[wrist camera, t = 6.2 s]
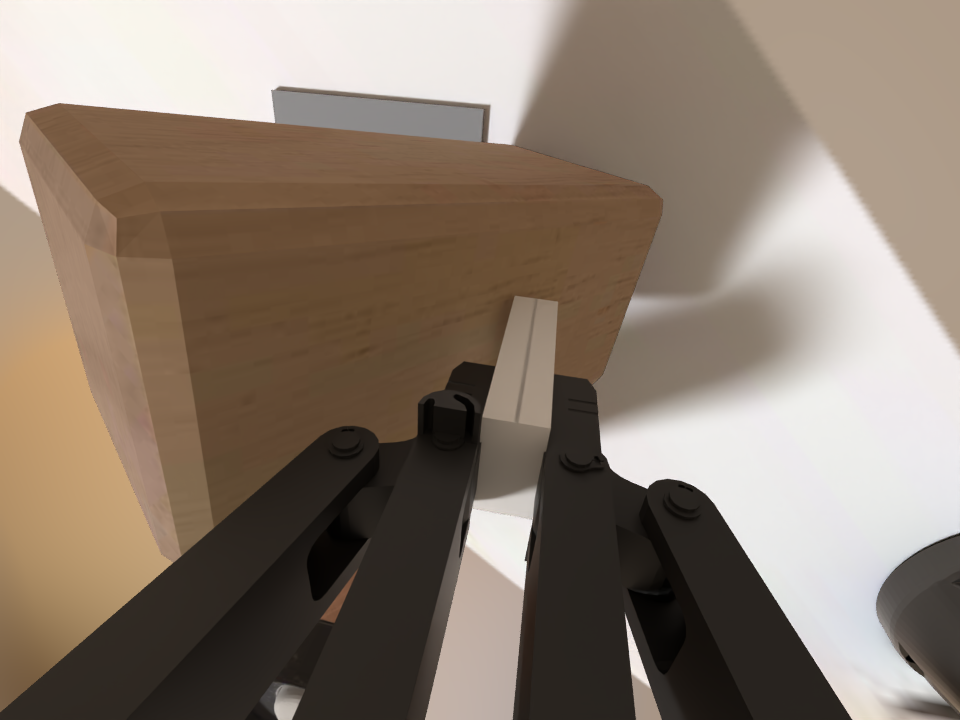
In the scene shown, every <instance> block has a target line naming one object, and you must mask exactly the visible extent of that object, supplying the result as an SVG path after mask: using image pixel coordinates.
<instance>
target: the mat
mask: <svg viewBox="0 0 960 720" xmlns="http://www.w3.org/2000/svg"><path fill="white" fill-rule="evenodd" d="M271 91H272V99H273V107H274V115H275V123H278V124H289V125H300V126H311V127H322V128H333V129H344V130H354V131H365V132H376V133H387V134H398V135H409V136H419V137H430V138H441V139H452V140H463V141H474V142H482V135H483V121H484V109H479V108H468V107H457V106H446V105H435V104H424V103H413V102H401V101H390V100H379V99H368V98H357V97H346V96H335V95H324V94H313V93H302V92H291V91H280V90H271Z"/></svg>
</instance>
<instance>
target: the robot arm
mask: <svg viewBox="0 0 960 720" xmlns="http://www.w3.org/2000/svg"><path fill="white" fill-rule="evenodd" d="M557 311H558V302H557V301H550V300H542V299H535V298H528V297H521V296H515V297H514V300H513V304H512V308H511V312H510V315H509V319H508V323H507V327H506V330H505V334H504V338H503V341H502V345H501V349H500V353H499V356H498V360H497V364H496V366H491V365H485V364H478V363H472V362H465V361H464V362H462V363H461V364H460V365H458V366H457V367H456V368H454V369H453V370H452V373H451V375H450V377H449V380H448V383H447V385H446V387H445V389H444V390H441V391H436V392H432V393H430V394H428V395H426V396H424V397H423V398H422V399H421V400H420V401H419V402H418V432H417V436H416V437H415V438H413V439H409V440H406V441H400V442H389V443H379V440H378V438H377V437H376V435H375V434H374V433H373V432H372V431H370V430H368V429H366V428H363V427H359V426H341V427H338V428H334V429H331V430H329V431H327V432H326V433H324V434H323V435H321V436H320V437H318V438H317V439H316V440H315V441H314V442H313V443H312V444H310V445H309V446H308V447H307V448H306V449H305V450H303V451H302V452H301V453H300V454H299V455H298V456H296V457H295V458H294V459H293V460H292V461H291V462H290V463H288V464H287V465H286V466H285V467H284V468H283V469H281V470H280V471H279V472H278V473H277V474H276V475H274V476H273V477H272V478H271V479H270V480H269V481H268V482H266V483H265V484H264V485H263V486H262V487H261V488H259V489H258V490H257V491H256V492H255V493H254V494H253V495H251V496H250V497H249V498H248V499H247V500H246V501H244V502H243V503H242V504H241V505H240V506H239V507H237V508H236V509H235V510H234V511H233V512H232V513H231V514H229V515H228V516H227V517H226V518H225V519H224V520H222V521H221V522H220V523H219V524H218V525H217V526H215V527H214V528H213V529H212V530H211V531H210V532H209V533H207V534H206V535H205V536H204V537H203V538H202V539H200V540H199V541H198V542H197V543H196V544H195V545H193V546H192V547H191V548H190V549H189V550H188V551H187V552H185V553H184V554H183V555H182V556H181V557H180V558H178V559H177V560H176V561H175V562H174V563H173V564H172V565H171V566H169V567H168V568H167V569H166V570H165V571H163V572H162V573H161V574H160V575H159V576H158V577H156V578H155V579H154V580H153V581H152V582H151V583H150V584H148V585H147V586H146V587H145V588H144V589H143V590H141V592H139V593H138V594H137V595H136V596H134V597H133V598H132V599H131V600H130V601H129V602H128V603H126V604H125V605H124V606H123V607H122V608H121V609H120V610H118V611H117V612H116V613H115V614H114V615H112V616H111V617H110V618H109V619H108V620H107V621H106V622H104V623H103V624H102V625H101V626H100V627H99V628H97V629H96V630H95V631H94V632H93V633H92V634H91V635H90V636H88V637H87V638H86V639H85V640H84V641H83V642H81V643H80V644H79V645H78V646H77V647H75V648H74V649H73V650H72V651H71V652H70V653H69V654H67V655H66V656H65V657H64V658H63V659H62V660H61V661H59V662H58V663H57V664H56V665H55V666H53V667H52V668H51V669H50V670H49V671H48V672H47V673H46V674H44V675H43V676H42V677H41V678H40V679H38V680H37V681H36V682H35V683H34V684H33V685H31V686H30V687H29V688H28V689H27V690H26V691H25V692H23V693H22V694H21V695H20V696H19V697H18V698H17V699H15V700H14V701H13V702H12V703H11V704H10V705H8V706H7V707H6V708H5V709H4V710H3V711H2V712H0V720H245V719H246V717H247V716H248V715H249V713H250V712H251V711H252V709H253V708H254V707H255V705H256V704H257V703H258V701H259V700H260V699H261V697H262V696H263V695H264V693H265V692H266V691H267V689H268V688H269V687H270V685H271V684H272V683H273V681H274V680H275V679H276V677H277V676H278V675H279V673H280V672H281V671H282V669H283V668H284V667H285V665H286V664H287V663H288V661H289V660H290V659H291V657H292V656H293V655H294V653H295V652H296V651H297V649H298V648H299V647H300V645H301V644H302V643H303V641H304V640H305V639H306V637H307V636H308V635H309V633H310V632H311V631H312V629H313V628H314V627H315V625H316V624H317V623H318V621H319V620H320V619H321V617H322V616H323V615H324V613H325V612H326V611H327V609H328V608H329V607H330V605H331V604H332V603H333V601H334V600H335V599H336V597H337V596H338V595H339V593H340V592H341V591H342V589H343V588H344V587H345V585H346V584H347V583H348V581H349V580H350V579H351V577H352V576H353V575H354V573H355V572H356V571H357V573H356V575H355V577H354V580H353V582H352V584H351V586H350V589H349V591H348V593H347V595H346V598H345V600H344V602H343V605H342V607H341V609H340V611H339V614H338V616H337V618H336V620H335V623H334V625H333V627H332V630H331V632H330V634H329V636H328V639H327V641H326V643H325V645H324V648H323V650H322V652H321V655H320V657H319V659H318V661H317V664H316V666H315V668H314V671H313V673H312V675H311V677H310V680H309V682H308V684H307V686H306V689H305V691H304V693H303V696H302V698H301V700H300V702H299V705H298V707H297V709H296V711H295V714H294V716H293V718H292V720H425V717H426V713H427V708H428V704H429V699H430V695H431V691H432V687H433V682H434V678H435V674H436V669H437V665H438V661H439V656H440V652H441V648H442V643H443V638H444V634H445V630H446V626H447V621H448V617H449V612H450V608H451V604H452V600H453V595H454V591H455V587H456V582H457V578H458V574H459V569H460V565H461V560H462V556H463V552H464V548H465V543H466V539H467V535H468V530H469V524H470V514H471V511H472V507H473V509H477V510H483V511H488V512H493V513H499V514H505V515H510V516H515V517H521V518H526V519H531V520H532V518H533V522H532V527H531V532H530V537H529V542H528V547H527V552H526V557H525V561H527V568H526V579H525V590H524V601H523V613H522V624H521V634H520V645H519V656H518V668H517V679H516V690H515V701H514V713H513V720H636V717H635V707H634V697H633V688H632V678H631V668H630V658H629V649H628V639H627V630H626V620H625V614H626V617H627V620H628V623H629V626H630V628H631V631H632V634H633V637H634V640H635V643H636V646H637V649H638V652H639V655H640V657H641V660H642V663H643V666H644V669H645V672H646V675H647V678H648V681H649V683H650V686H651V689H652V692H653V695H654V698H655V701H656V703H657V706H658V709H659V712H660V715H661V718H662V720H852V719H851V717H850V716H849V714H848V713H847V711H846V709H845V708H844V706H843V705H842V703H841V702H840V700H839V698H838V697H837V695H836V694H835V692H834V691H833V689H832V688H831V686H830V684H829V683H828V681H827V680H826V678H825V677H824V675H823V673H822V672H821V670H820V669H819V667H818V666H817V664H816V662H815V661H814V659H813V658H812V656H811V655H810V653H809V652H808V650H807V648H806V647H805V645H804V644H803V642H802V641H801V639H800V637H799V636H798V634H797V633H796V631H795V630H794V628H793V626H792V625H791V623H790V622H789V620H788V619H787V617H786V616H785V614H784V612H783V611H782V609H781V608H780V606H779V605H778V603H777V601H776V600H775V598H774V597H773V595H772V594H771V592H770V591H769V589H768V587H767V586H766V584H765V583H764V581H763V580H762V578H761V576H760V575H759V573H758V572H757V570H756V569H755V567H754V565H753V564H752V562H751V561H750V559H749V558H748V556H747V555H746V553H745V551H744V550H743V548H742V547H741V545H740V544H739V542H738V540H737V539H736V537H735V536H734V534H733V533H732V531H731V530H730V528H729V526H728V525H727V523H726V522H725V520H724V519H723V517H722V515H721V514H720V512H719V511H718V509H717V508H716V506H715V504H714V503H713V502H712V501H711V500H710V499H709V498H708V496H707V495H706V494H704V493H703V492H702V491H700V490H699V489H697V488H696V487H694V486H692V485H690V484H687V483H685V482H682V481H678V480H671V479H664V480H658V481H656V482H654V483H653V484H651V485H650V486H649V488H648V489H646V488H644V487H642V486H639V485H637V484H634V483H632V482H630V481H628V480H626V479H624V478H622V477H620V476H619V475H618V474H616V473H615V472H613V471H612V470H611V469H610V467H609V464H608V461H607V459H606V457H605V456H604V455H603V454H602V453H601V443H600V431H599V419H598V407H597V395H596V390H595V389H594V387H593V386H592V385H591V383H590V382H589V380H588V379H583V378H577V377H570V376H564V375H557V374H554V363H555V346H556V328H557ZM357 569H358V570H357ZM876 610H877V616H878V619H879V621H880V623H881V625H882V627H883V628H884V630H885V632H886V633H887V635H888V637H889V639H890V640H891V642H892V644H893V645H894V647H895V649H896V650H897V652H898V653H899V654H900V656H901V657H902V658H903V659H904V660H905V661H906V663H907V664H909V665H910V666H911V667H912V668H913V669H914V670H915V671H916V672H918V673H919V674H920V675H922V676H923V677H924V678H925V679H926V680H927V681H928V682H929V683H930V685H931V686H932V687H933V688H934V689H935V690H936V691H937V692H938V694H939V695H940V696H941V697H942V698H943V699H944V700H945V701H946V702H947V703H948V704H949V705H950V706H951V707H952V708H953V709H954V710H955V711H956V712H957V713H958V714H959V715H960V536H957V537H954V538H951V539H948V540H945V541H943V542H940V543H938V544H935V545H933V546H931V547H929V548H927V549H925V550H923V551H921V552H919V553H917V554H916V555H914V556H913V557H911V558H909V559H908V560H907V561H905V562H904V563H903V564H901V565H900V566H899V567H898V568H897V569H895V570H894V571H893V572H892V573H891V575H890V576H889V577H888V578H887V579H886V581H885V582H884V584H883V585H882V587H881V589H880V591H879V594H878V597H877V602H876Z"/></svg>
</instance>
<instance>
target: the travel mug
mask: <svg viewBox="0 0 960 720" xmlns="http://www.w3.org/2000/svg"><path fill="white" fill-rule="evenodd" d="M357 570H358V569H357ZM356 573H357V571H356V572H355V573H354V575H353V576H352V577H351V579H350V580H349V581H348V583H347V584H346V585H345V587H344V588H343V589H342V591H341V592H340V593H339V595H338V596H337V597H336V599H335V600H334V601H333V603H332V604H331V605H330V607H329V608H328V609H327V611H326V612H325V613H324V615H323V616H322V617H321V619H320V620H319V621H318V623H317V624H316V625H315V627H314V628H313V629H312V631H311V632H310V633H309V635H308V636H307V637H306V639H305V640H304V641H303V643H302V644H301V645H300V647H299V648H298V649H297V651H296V652H295V653H294V655H293V656H292V657H291V659H290V660H289V661H288V663H287V664H286V665H285V667H284V668H283V669H282V671H281V672H280V673H279V675H278V676H277V677H276V679H275V680H274V681H273V683H272V684H271V685H270V687H269V688H268V689H267V691H266V692H265V693H264V695H263V696H262V697H261V699H260V700H259V701H258V703H257V704H256V705H255V707H254V708H253V709H252V711H251V712H250V713H249V715H248V716H247V717H246V719H245V720H292V718H293V716H294V714H295V711H296V709H297V707H298V705H299V702H300V700H301V698H302V696H303V693H304V691H305V689H306V686H307V684H308V682H309V680H310V677H311V675H312V673H313V671H314V668H315V666H316V664H317V661H318V659H319V657H320V655H321V652H322V650H323V648H324V645H325V643H326V641H327V639H328V636H329V634H330V632H331V630H332V627H333V625H334V623H335V620H336V618H337V616H338V614H339V611H340V609H341V607H342V605H343V602H344V600H345V598H346V595H347V593H348V591H349V589H350V586H351V584H352V582H353V580H354V577H355V575H356Z"/></svg>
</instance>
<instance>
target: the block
mask: <svg viewBox="0 0 960 720" xmlns="http://www.w3.org/2000/svg"><path fill="white" fill-rule="evenodd" d="M19 143H20V146H21V150H22V153H23V157H24V160H25V164H26V167H27V171H28V174H29V178H30V181H31V185H32V188H33V192H34V195H35V199H36V202H37V206H38V209H39V212H40V216H41V219H42V223H43V226H44V230H45V233H46V237H47V240H48V244H49V247H50V251H51V254H52V258H53V261H54V265H55V268H56V272H57V275H58V278H59V282H60V285H61V289H62V292H63V296H64V299H65V302H66V306H67V310H68V313H69V316H70V320H71V323H72V327H73V330H74V334H75V337H76V341H77V344H78V348H79V351H80V355H81V358H82V361H83V365H84V369H85V372H86V376H87V379H88V382H89V386H90V390H91V393H92V395H93V397H94V399H95V402H96V404H97V407H98V409H99V411H100V413H101V416H102V418H103V420H104V423H105V425H106V427H107V430H108V432H109V434H110V436H111V439H112V441H113V444H114V446H115V448H116V450H117V452H118V455H119V457H120V460H121V462H122V464H123V467H124V469H125V471H126V473H127V476H128V478H129V480H130V483H131V485H132V487H133V490H134V492H135V494H136V497H137V499H138V501H139V504H140V506H141V508H142V511H143V513H144V515H145V518H146V520H147V522H148V524H149V527H150V529H151V531H152V534H153V536H154V538H155V540H156V543H157V545H158V547H159V550H160V552H161V554H162V555H163V556H165V557H166V558H168V559H169V560H171V561H172V562H175V561H176V560H177V559H178V558H180V557H181V556H182V555H183V554H184V553H185V552H187V551H188V550H189V549H190V548H191V547H192V546H193V545H195V544H196V543H197V542H198V541H199V540H200V539H202V538H203V537H204V536H205V535H206V534H207V533H209V532H210V531H211V530H212V529H213V528H214V527H215V526H217V525H218V524H219V523H220V522H221V521H222V520H224V519H225V518H226V517H227V516H228V515H229V514H231V513H232V512H233V511H234V510H235V509H236V508H237V507H239V506H240V505H241V504H242V503H243V502H244V501H246V500H247V499H248V498H249V497H250V496H251V495H253V494H254V493H255V492H256V491H257V490H258V489H259V488H261V487H262V486H263V485H264V484H265V483H266V482H268V481H269V480H270V479H271V478H272V477H273V476H274V475H276V474H277V473H278V472H279V471H280V470H281V469H283V468H284V467H285V466H286V465H287V464H288V463H290V462H291V461H292V460H293V459H294V458H295V457H296V456H298V455H299V454H300V453H301V452H302V451H303V450H305V449H306V448H307V447H308V446H309V445H310V444H312V443H313V442H314V441H315V440H316V439H317V438H318V437H320V436H321V435H323V434H324V433H326V432H327V431H329V430H331V429H334V428H338V427H341V426H359V427H363V428H366V429H368V430H370V431H372V432H373V433H374V434H375V435H376V437H377V438H378V440H379V443H389V442H400V441H406V440H409V439H413V438H415V437H416V436H417V432H418V402H419V401H420V400H421V399H422V398H423V397H424V396H426V395H428V394H430V393H432V392H436V391H441V390H444V389H445V387H446V385H447V383H448V380H449V377H450V375H451V373H452V370H453V369H454V368H456V367H457V366H458V365H460V364H461V363H462V362H464V361H465V362H472V363H478V364H485V365H491V366H496V364H497V360H498V356H499V353H500V349H501V345H502V341H503V338H504V334H505V330H506V327H507V323H508V319H509V315H510V312H511V308H512V304H513V300H514V297H515V296H521V297H528V298H535V299H542V300H550V301H557V302H558V311H557V328H556V346H555V363H554V374H557V375H564V376H570V377H577V378H583V379H588V380H589V382H590V383H591V385H592V384H594V383H595V382H596V381H597V380H598V379H599V378H600V377H601V376H602V375H603V372H604V370H605V368H606V365H607V362H608V359H609V357H610V354H611V351H612V349H613V346H614V343H615V340H616V338H617V335H618V332H619V330H620V327H621V324H622V321H623V319H624V316H625V313H626V311H627V308H628V305H629V302H630V300H631V297H632V294H633V292H634V289H635V286H636V283H637V281H638V278H639V275H640V273H641V270H642V267H643V264H644V262H645V259H646V256H647V254H648V251H649V248H650V245H651V243H652V240H653V237H654V235H655V232H656V229H657V226H658V224H659V221H660V218H661V216H662V207H663V199H662V198H661V197H659V196H658V195H657V194H656V193H655V192H654V191H653V190H652V189H651V188H650V187H649V186H647V185H644V184H640V183H637V182H634V181H630V180H627V179H624V178H620V177H617V176H614V175H610V174H607V173H604V172H600V171H597V170H594V169H590V168H587V167H583V166H580V165H577V164H573V163H570V162H567V161H563V160H560V159H557V158H553V157H550V156H547V155H543V154H540V153H537V152H533V151H530V150H527V149H523V148H520V147H517V146H513V145H506V144H495V143H484V142H474V141H463V140H452V139H441V138H430V137H419V136H409V135H398V134H387V133H376V132H365V131H354V130H344V129H333V128H322V127H311V126H300V125H289V124H278V123H268V122H257V121H246V120H235V119H224V118H213V117H203V116H192V115H181V114H170V113H159V112H148V111H138V110H127V109H116V108H105V107H94V106H83V105H73V104H62V103H58V104H54V105H51V106H47V107H44V108H40V109H37V110H34V111H30V112H27V113H26V115H25V119H24V123H23V127H22V132H21V136H20V140H19Z"/></svg>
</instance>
